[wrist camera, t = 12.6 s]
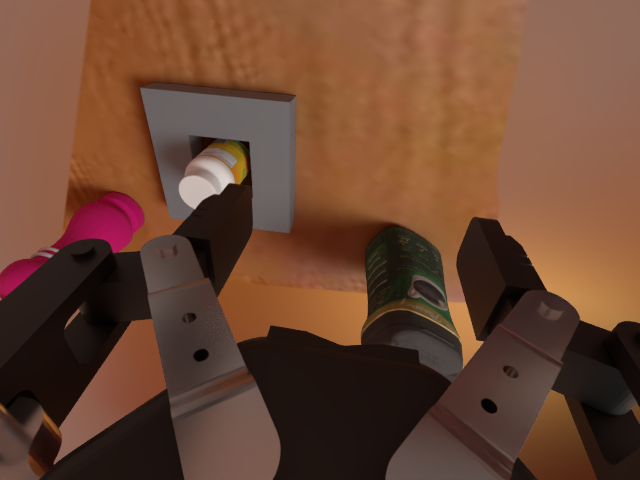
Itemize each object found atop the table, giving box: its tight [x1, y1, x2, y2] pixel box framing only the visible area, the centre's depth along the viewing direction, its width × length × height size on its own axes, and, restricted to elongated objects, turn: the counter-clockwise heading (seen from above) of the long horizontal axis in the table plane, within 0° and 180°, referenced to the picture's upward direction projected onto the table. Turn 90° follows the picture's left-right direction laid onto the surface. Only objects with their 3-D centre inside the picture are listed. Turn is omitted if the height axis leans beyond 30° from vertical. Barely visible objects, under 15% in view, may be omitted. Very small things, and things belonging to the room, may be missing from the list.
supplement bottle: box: [179, 138, 251, 209], centre depth 38 cm, size 5×5×10 cm
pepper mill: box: [0, 192, 144, 299], centre depth 41 cm, size 7×7×20 cm
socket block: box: [140, 82, 296, 233], centre depth 41 cm, size 16×16×3 cm
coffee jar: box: [361, 227, 463, 382], centre depth 39 cm, size 10×8×19 cm
